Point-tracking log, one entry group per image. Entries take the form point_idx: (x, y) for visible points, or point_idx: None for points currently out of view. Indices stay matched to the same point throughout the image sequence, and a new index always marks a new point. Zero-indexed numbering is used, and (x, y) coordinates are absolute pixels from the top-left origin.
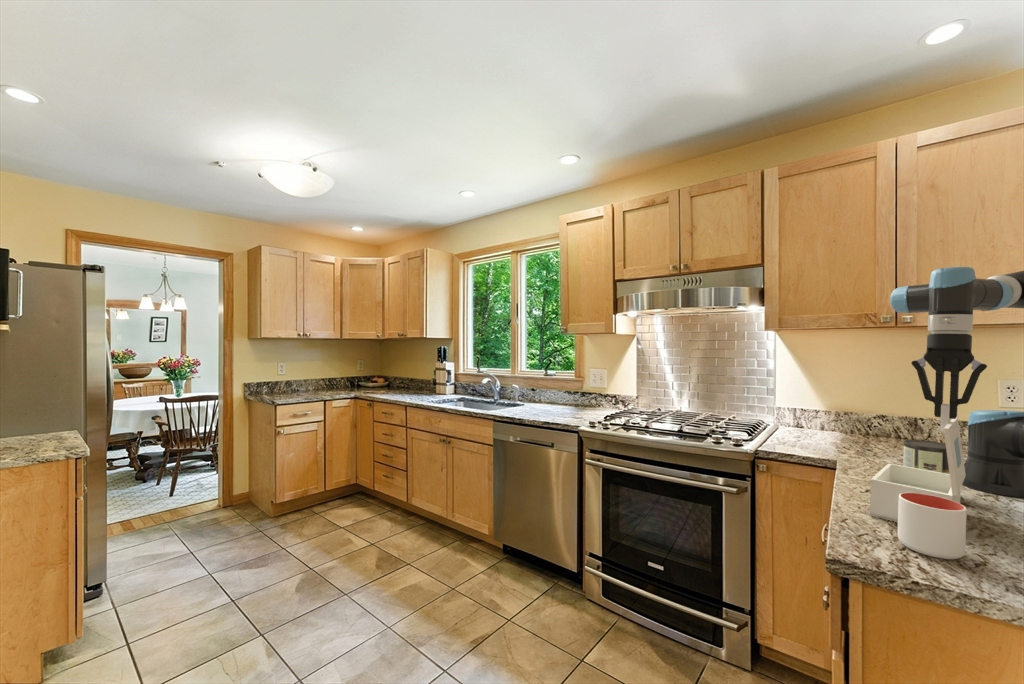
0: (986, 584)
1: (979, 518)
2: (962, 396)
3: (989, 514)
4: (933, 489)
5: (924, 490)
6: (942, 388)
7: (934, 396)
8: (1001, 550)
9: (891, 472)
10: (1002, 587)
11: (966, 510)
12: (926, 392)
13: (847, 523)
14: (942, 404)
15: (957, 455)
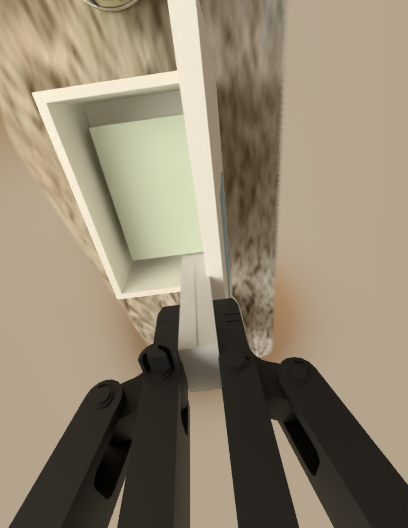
0: (256, 338)
1: (232, 94)
2: (293, 446)
3: (243, 23)
4: (153, 91)
5: None
6: (186, 516)
7: (136, 413)
8: (264, 247)
9: (58, 104)
10: (265, 334)
11: (249, 346)
12: (107, 476)
13: (134, 308)
14: (191, 384)
15: (228, 258)
